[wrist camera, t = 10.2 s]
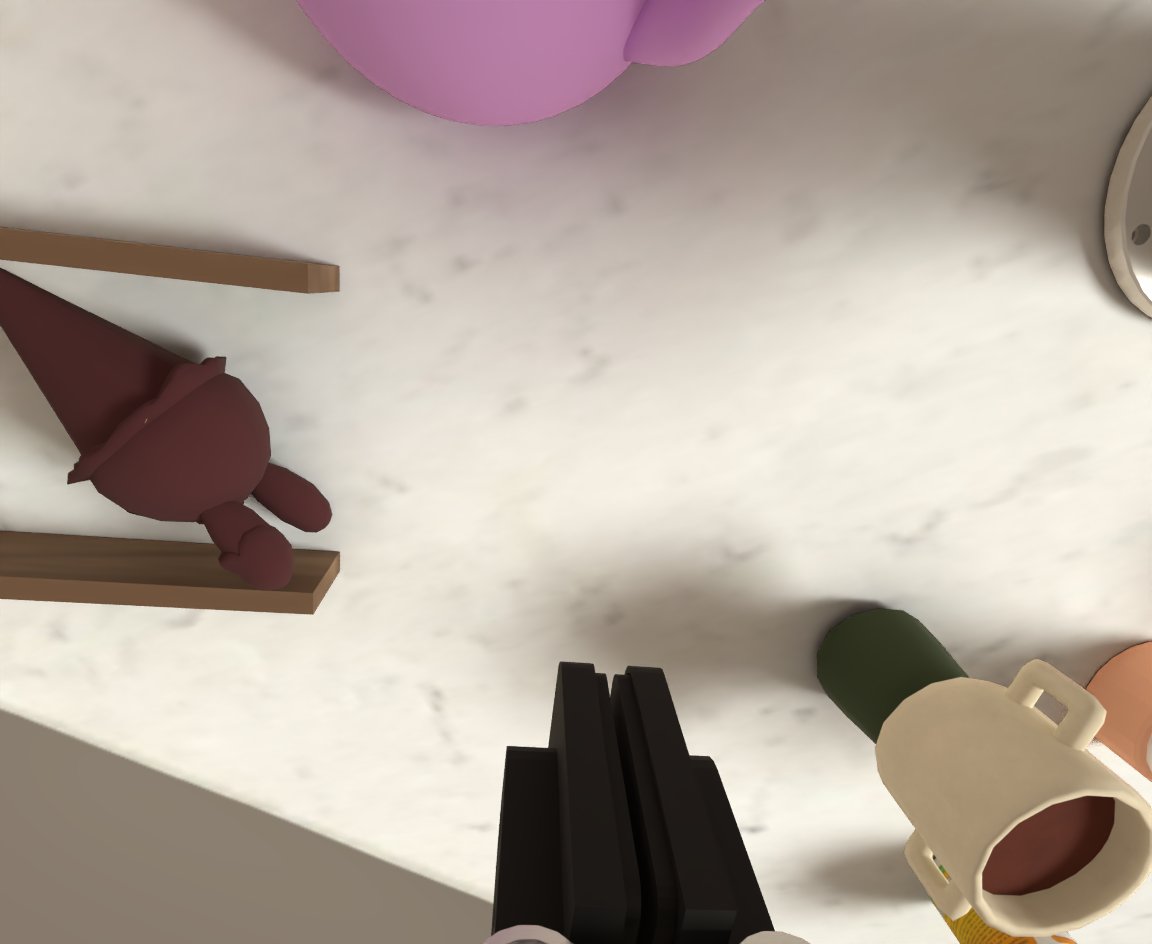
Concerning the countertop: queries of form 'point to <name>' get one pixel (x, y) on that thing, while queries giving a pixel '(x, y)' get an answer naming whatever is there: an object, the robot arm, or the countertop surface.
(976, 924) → the supplement bottle
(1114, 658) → the salt shaker
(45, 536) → the frame
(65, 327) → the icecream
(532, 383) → the countertop surface
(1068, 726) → the character mug
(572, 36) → the teapot
